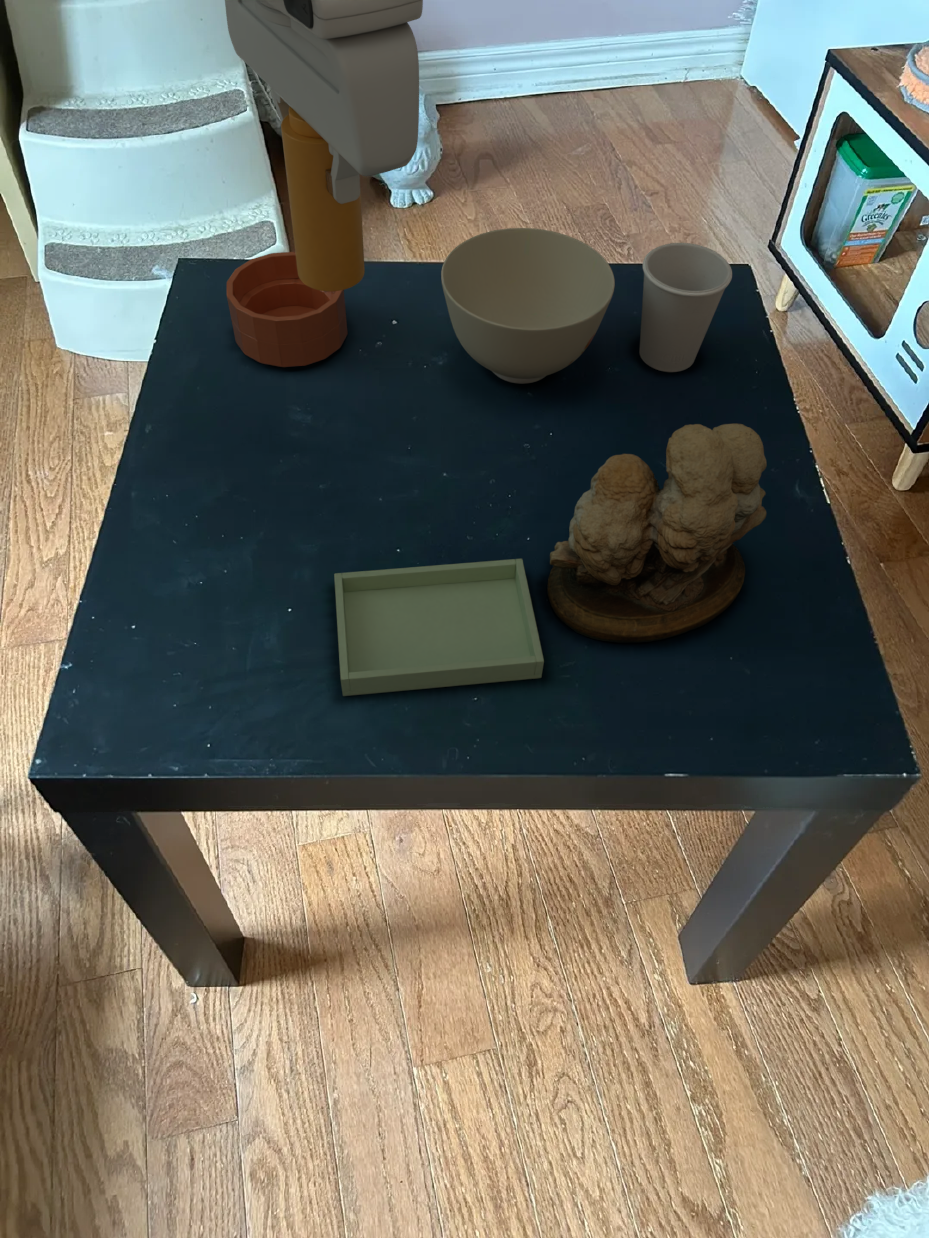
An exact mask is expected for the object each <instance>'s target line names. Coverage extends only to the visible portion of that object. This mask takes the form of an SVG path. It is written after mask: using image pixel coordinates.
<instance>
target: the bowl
mask: <svg viewBox="0 0 929 1238" xmlns="http://www.w3.org/2000/svg"><path fill="white" fill-rule="evenodd" d="M443 261H444V262H443V263H442V267H441V271H440V276H441V277H440V278H441V287H442V290H443V294H444V299H445V303H446V307H447V311H448V316H449V319H450V323H451V325H452V328H453V331H454V334H455V336H456V339H458V341H459V343H460V345H461V346H462V348H463V349H464V350H465V352H466V353H467V354H468V355H469V356H470V357H471V358H472V359H473V360H474V361H475V362H476V363H478V364H479V365H480V366H482V367H483V368H485V369H487V370H489V371H491V372H492V373H493V374H494V375H495V376H496V377H498V378H499V379H501V380H503V381H505V382H508V383H511V384H517V385H518V384H519V385H520V384H521V385H525V384H526V385H527V384H533V383H536V382H538V381H541V380H543V379H544V378H545V377H547V376H550V375H552V374H555V373H557V372H560V371H561V370H563V369H566V368H567V367H569V366H570V365H571V364H573V363H574V362H575V361H577V360H578V358H580V357H581V355H583V353H584V352H585V351H586V349H588V347H589V346H590V344H591V343H592V342H593V339H594V337H595V336H596V333H597V332H598V329H599V327H600V325H601V323H602V322H603V319H604V317H605V314H606V312H607V310H608V307H609V305H610V303H611V301H612V298H613V295H614V292H615V287H616V285H615V284H616V283H615V282H616V280H615V276H614V272H613V269H612V267H611V266H610V264H609V263H608V261H607V260H606V258H604V256H603V255H602V254H600V253H599V252H598V251H597V250H596V249H594V248H593V247H592V246H590V245H588V244H587V243H585V242H584V241H582V240H579V239H577V238H575V237H572V236H570V235H567V234H564V233H561V232H557V231H554V230H549V229H543V228H533V227H532V228H531V227H511V228H501V229H494V230H490V231H486V232H482V233H480V234H477V235H475V236H471V237H470V238H468V239H466V240H464V241H463V242H461V243H460V244H458V245H457V246H456V247H454V248H453V249H452V250H451V251H450V252H449V253H448V255H447V256H446V257H445V260H443Z"/></svg>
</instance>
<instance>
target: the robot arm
mask: <svg viewBox="0 0 929 1238" xmlns="http://www.w3.org/2000/svg"><path fill="white" fill-rule="evenodd" d="M224 6H225V14H226V15H225V16H226V23H227V30H228V35H229V38H230V42H231V44H232V46H233V49H234V52H235V54H236V55H237V56H238V57H239V58H240V59H241V60H242V61H243V62H244V63H245V64H246V65H247V66H248V67H249V68H250V69H251V70H252V71H253V72H254V73H255V74H256V75H257V76H259V78H260V79H261V80H262V81H264V83H265V84H267V85H268V87H270V93H271V98H272V100H273V104H274V107H275V109H276V112H277V115H278V118H279V120H280V124H282V121H283V119H284V118H285V117H286V116H287V115H289V107H291V108H292V109H293V110H294V111H296V112H297V113H298V114H299V115H300V116H301V117H302V118H303V119H304V120H305V121H306V122H307V123H308V124H309V125H310V126H311V127H312V128H313V129H314V130H315V131H316V132H317V133H318V134H319V135H320V136H321V137H322V138H323V139H324V140H325V141H326V142H327V143H328V145H329V152H330V154H332V155H333V163H332V168H331V169H327V170H325V171H326V181H327V191H328V192H329V193H330V194H331V196H332V197H333V198H334V199H335V200H336V201H337V202H338V203H340V204H344V203H347V202H351V201H354V200H356V199H358V197H359V196H360V192H361V176H362V177H372V176H377V175H380V174H381V175H382V174H384V173H388V172H391V171H395V170H398V169H401V168H404V167H406V166H408V165H409V164H410V162H411V160H412V159H413V157H414V155H415V153H416V151H417V147H418V141H419V127H420V125H419V122H420V62H419V61H420V59H419V52H418V45H417V41H416V37H415V35H414V32H413V30H412V28H411V25H410V24H409V23H410V22H413V21H416V20H419V19H421V17H422V15H423V9H424V0H224ZM408 22H409V23H408ZM359 174H360V175H359Z"/></svg>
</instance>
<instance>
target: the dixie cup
mask: <svg viewBox="0 0 929 1238" xmlns="http://www.w3.org/2000/svg"><path fill="white" fill-rule="evenodd" d="M642 271H643V286H642V287H643V290H642V304H641V305H642V306H641V318H640V319H641V321H640V338H639V351H638V352H639V356H640V358H641V360H642V361H643V363H645V364H646V365H647V366H649V367H651V368H652V369H655V370H656V371H657V370H658V371H661V372H665V373H677V372H682V371H685V370H687V369H688V368H690V367H691V366H692V365H693V364H694V362H695V360H696V359H697V358H696V357H697V355H698V353H699V351H700V348H701V346H702V344H703V341H704V340H705V339H704V338H705V337H706V334H707V332H708V329H709V328H710V324H711V322H712V320H713V318H714V315H715V313H716V311H717V308H718V306H719V304H720V301H721V300H722V299H721V298H722V297H723V295H724V292H725V290H726V289H727V287H728V286H729V285H730V283H731V281H732V279H733V269H732V266H731V264H730V263H729V262H728V261H727V259H726V258H725V257H724V256H723V255H721V254H720V253H719V252H717V251H715V250H713V249H711V248H709V247H707V246H703V245H700V244H697V243H690V242H671V243H665V244H662V245H659V246H657V247H655V248H653V249H651V250H650V251H649V252H647V254H646V255H645V257H644V258H643V261H642Z"/></svg>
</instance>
